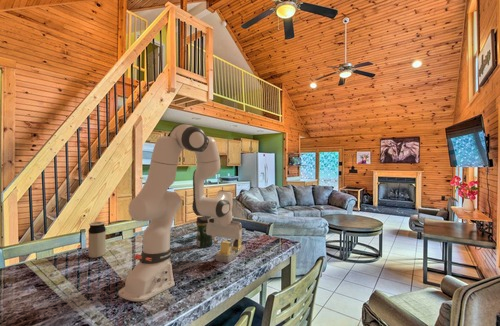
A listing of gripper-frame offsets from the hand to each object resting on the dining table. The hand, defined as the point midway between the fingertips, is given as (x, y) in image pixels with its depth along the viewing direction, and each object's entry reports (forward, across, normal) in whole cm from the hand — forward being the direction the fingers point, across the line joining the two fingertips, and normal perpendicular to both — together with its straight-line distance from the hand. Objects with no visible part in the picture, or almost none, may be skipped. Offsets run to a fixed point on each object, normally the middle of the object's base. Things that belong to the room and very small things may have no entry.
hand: (223, 245), depth 133 cm
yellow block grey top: (+5, -2, +1) cm, 6 cm away
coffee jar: (+8, +20, -14) cm, 25 cm away
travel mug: (+9, +67, +21) cm, 71 cm away
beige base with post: (+7, -2, -6) cm, 10 cm away
